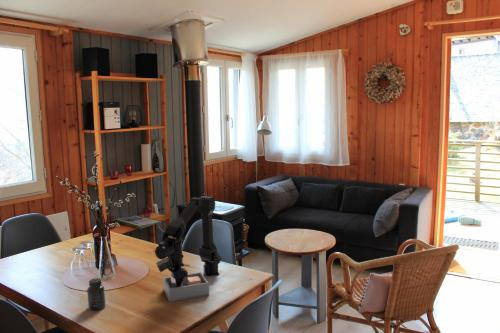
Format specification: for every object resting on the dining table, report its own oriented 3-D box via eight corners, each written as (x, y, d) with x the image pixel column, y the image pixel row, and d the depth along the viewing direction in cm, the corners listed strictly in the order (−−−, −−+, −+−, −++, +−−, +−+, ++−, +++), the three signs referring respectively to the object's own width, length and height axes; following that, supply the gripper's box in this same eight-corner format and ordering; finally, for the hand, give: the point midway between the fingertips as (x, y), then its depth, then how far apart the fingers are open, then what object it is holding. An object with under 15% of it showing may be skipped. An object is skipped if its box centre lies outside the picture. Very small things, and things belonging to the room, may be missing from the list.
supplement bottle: (90, 304, 188) (89, 277, 187) (107, 303, 189) (105, 276, 187) (86, 311, 182) (84, 284, 180) (103, 310, 182) (101, 283, 181)
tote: (200, 283, 209) (200, 272, 208) (209, 295, 196) (208, 282, 195) (163, 289, 202) (163, 277, 201) (169, 302, 190) (169, 289, 189)
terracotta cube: (198, 286, 204) (197, 276, 203) (201, 290, 199) (200, 280, 198) (187, 288, 202) (187, 277, 201) (190, 292, 197) (189, 281, 196)
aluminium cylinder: (180, 286, 201) (180, 271, 200) (183, 290, 196) (183, 275, 195) (170, 288, 199) (169, 273, 198) (172, 292, 194) (172, 277, 193)
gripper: (153, 248, 201) (155, 281, 203) (161, 261, 183) (162, 297, 186) (178, 245, 205) (179, 277, 207) (187, 258, 187) (188, 292, 190)
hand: (176, 285), depth 197 cm, fingers closed on aluminium cylinder, 5 cm apart
